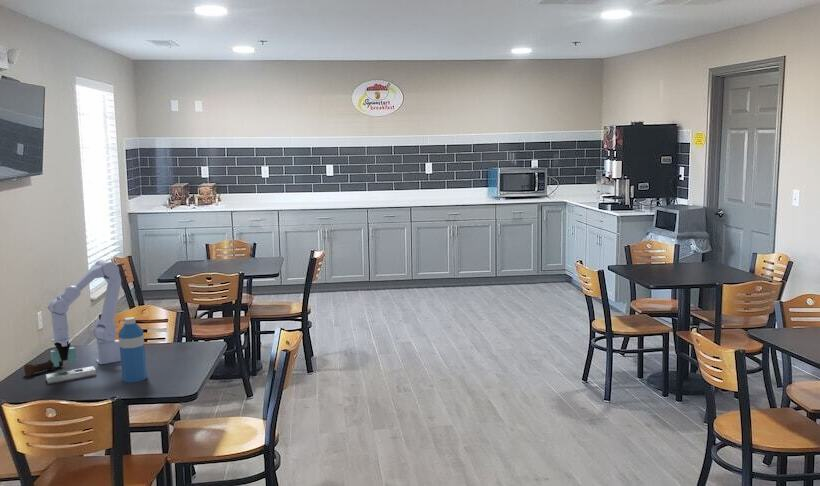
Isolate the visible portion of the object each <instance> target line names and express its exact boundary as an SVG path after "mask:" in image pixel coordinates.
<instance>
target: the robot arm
mask: <svg viewBox="0 0 820 486" xmlns="http://www.w3.org/2000/svg"><path fill="white" fill-rule="evenodd" d="M120 274H121V273H120V267H119V266H118V265H117V264H116V263H115V262H114V261H107V260H103V259H100V260H97V261H95V263H94V264H93V265H91V266H90V268H89V269H88V271H87V272H86V273H84V275H83V276H82V277H81V278H80V279H79V280H78V281H77V282H76V283H75V284H74V285H69V286H66V287H65V288H64V291H63V292H62V293H61V294H60V295H57V296H56V298H55V299H52V300H51V301H50V302H49V303H48V304H49V305H48V306H47V309H48V311H49V312H50V316H51V323H52V332H53V333H52V335H53V338H51V339H50V342H51V343H52V342H53V345H54V346H55V348H56V350H58V351H59V354H60V358H61V360H62V361H63V362H64V361H68V360H67V358H68V350H69V348H70V347H71V343H70V342H69V340H70V339H71V338H70V334H69V333H70V332H69V326H68V324H69V323H68V316H67V312H68V310H69V307H70V306H71V304H73V303H74V302H75V301H76V300H77V299H78V298H79V297H80V296H81V292H82V290H84V289H85V288H86V287H87V286H88V285H90V283H92V282H93V281H94V280H96V279H100V278H103V279H104V281H106V283H107V285H106V290H105V295H104V301H103V305H102V312H101V316H100V318H99V320H98V321H97V322H96V326H95V328H94V329H93V336H94V338H95V339H96V347H97V359H96V362H97V363H98V364H99V365H106V364H111V363H117V362H121V357H120V346H119V339H116V338H117V333H118V332H117V325H116V322H115V316H116V311H117V307H118V300H119V296H120V290H121V285H122V277H121V275H120Z"/></svg>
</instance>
